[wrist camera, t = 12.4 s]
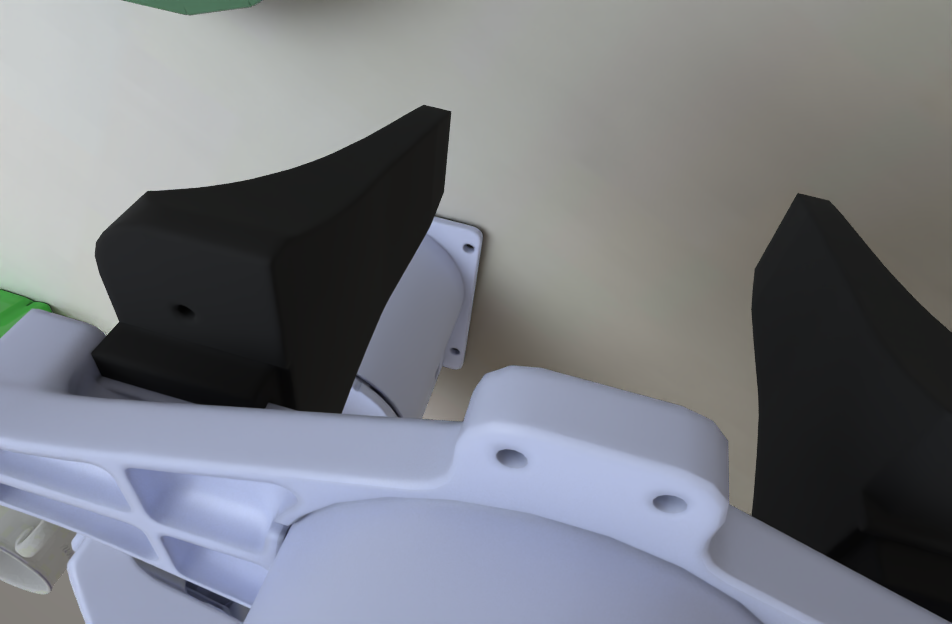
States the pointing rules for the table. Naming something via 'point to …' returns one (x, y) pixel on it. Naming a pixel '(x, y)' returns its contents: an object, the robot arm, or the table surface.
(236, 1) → the bowl
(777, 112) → the table surface
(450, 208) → the table surface
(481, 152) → the table surface
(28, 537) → the teacup
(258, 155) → the table surface
